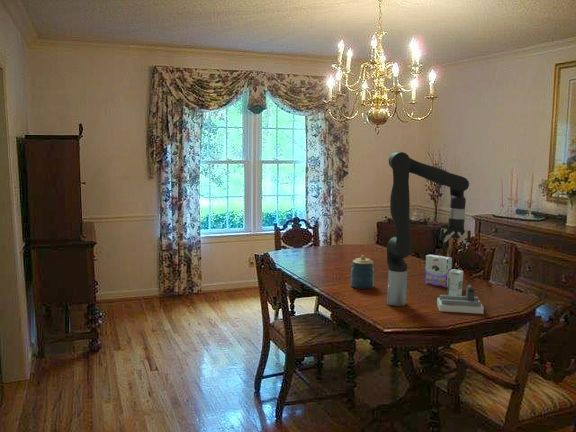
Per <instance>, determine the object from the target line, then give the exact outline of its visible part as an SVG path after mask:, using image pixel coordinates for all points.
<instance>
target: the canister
mask: <svg viewBox="0 0 576 432" xmlns="http://www.w3.org/2000/svg"><path fill="white" fill-rule="evenodd" d="M373 263H374V261H373V260H371V259H370V258H367V257H366V255H363V254H362V255H361V256H360V257H356V258H355V259H352V263H351V264H350V266H351V270H350V286H351V287H352V288H355V289H360V290H366V289H372V288H374V284H375V282H374V281H375V270H374V268H375V265H374V264H373Z"/></svg>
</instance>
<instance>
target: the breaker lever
mask: <svg viewBox="0 0 576 432" xmlns="http://www.w3.org/2000/svg"><path fill="white" fill-rule="evenodd" d="M465 296H466V301H474V297H475V288H474V287H473V286H472V284H467V286H466V288H465Z"/></svg>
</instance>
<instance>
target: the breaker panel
mask: <svg viewBox="0 0 576 432" xmlns="http://www.w3.org/2000/svg"><path fill="white" fill-rule="evenodd" d="M436 306H437V309H438V310H439V311H440V312H449V313H464V314H465V313H466V314H467V313H468V314H479V315H481V314H482V315H484V309H485V308H484V306H483V304H482V301H480V300H479V296H474V301H466V295H462V296H454V295H447V294H439V297H437V299H436Z"/></svg>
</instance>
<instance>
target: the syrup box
mask: <svg viewBox="0 0 576 432" xmlns="http://www.w3.org/2000/svg"><path fill="white" fill-rule="evenodd" d="M463 283H464V270H461V269H457V268H456V269H453V268H452V269H451V271H449V276H448V287H447V289H446V290H447V291H446V295H454V296H463V295H462V294H463Z"/></svg>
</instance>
